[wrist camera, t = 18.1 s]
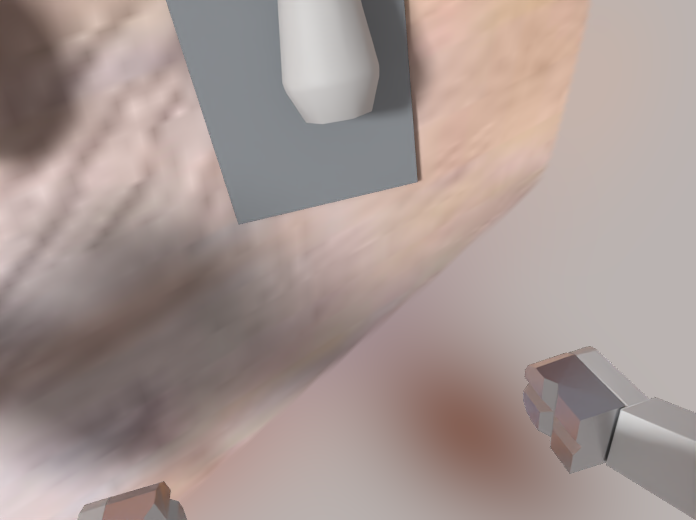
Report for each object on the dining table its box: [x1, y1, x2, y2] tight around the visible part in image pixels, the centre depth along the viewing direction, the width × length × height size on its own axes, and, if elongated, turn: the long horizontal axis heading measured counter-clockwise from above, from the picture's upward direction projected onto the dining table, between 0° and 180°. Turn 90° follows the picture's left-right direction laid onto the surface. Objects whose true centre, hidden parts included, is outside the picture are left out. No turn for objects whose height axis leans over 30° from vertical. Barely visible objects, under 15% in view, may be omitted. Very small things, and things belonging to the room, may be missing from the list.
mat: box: [166, 0, 418, 224], centre depth 28 cm, size 20×14×1 cm
